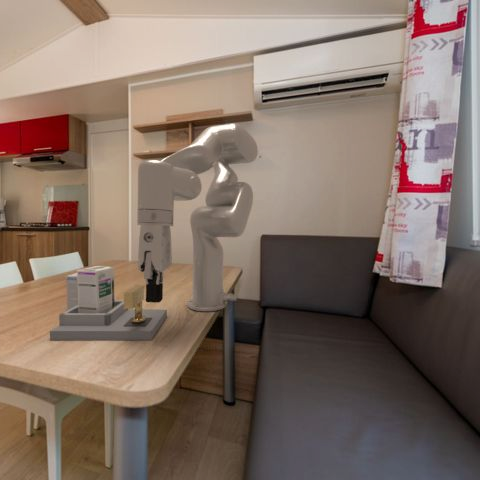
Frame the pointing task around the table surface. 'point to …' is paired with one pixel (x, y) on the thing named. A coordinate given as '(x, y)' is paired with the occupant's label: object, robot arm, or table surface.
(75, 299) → the light bulb box
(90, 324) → the plate
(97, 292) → the syrup box
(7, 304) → the table surface
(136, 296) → the brass key
